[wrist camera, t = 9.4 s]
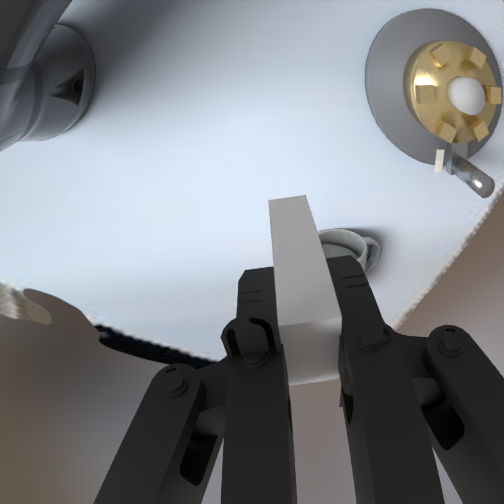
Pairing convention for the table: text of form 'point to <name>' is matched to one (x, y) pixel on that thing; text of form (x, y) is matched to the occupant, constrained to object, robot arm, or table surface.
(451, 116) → the gold crank wheel
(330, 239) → the ceramic mug
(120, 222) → the table surface
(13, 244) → the table surface
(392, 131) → the base
